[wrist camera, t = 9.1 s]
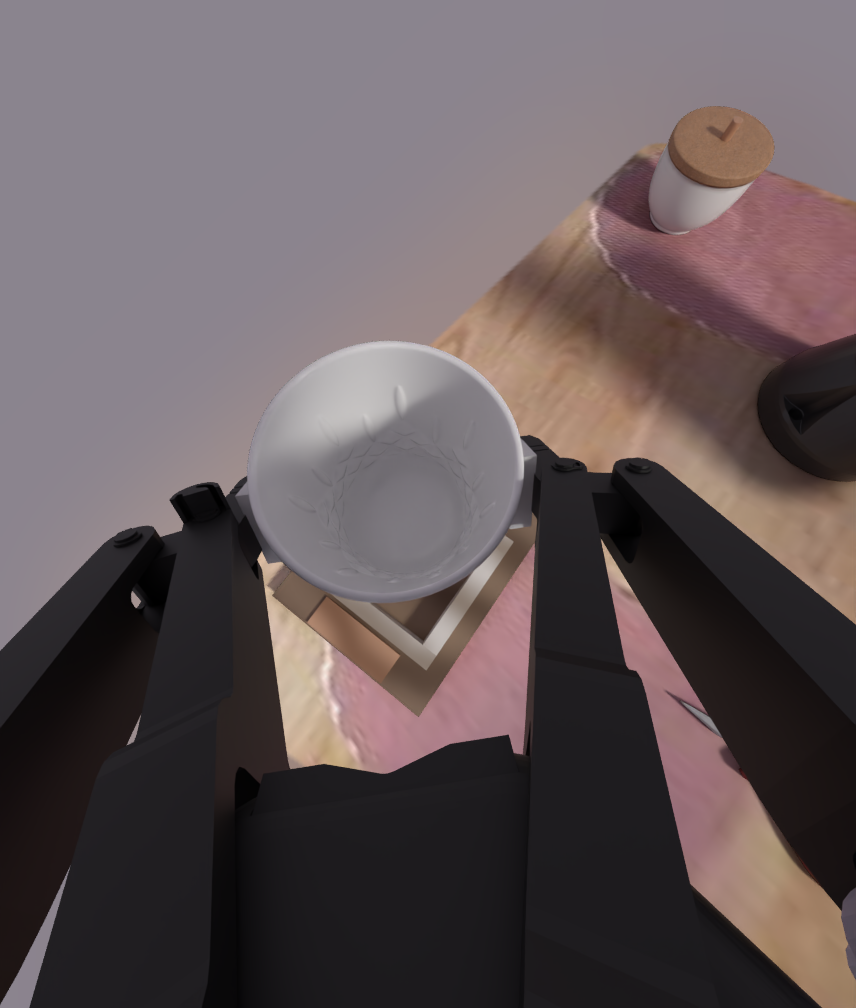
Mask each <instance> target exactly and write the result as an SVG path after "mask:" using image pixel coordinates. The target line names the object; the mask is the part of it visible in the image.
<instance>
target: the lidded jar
mask: <svg viewBox="0 0 856 1008" xmlns="http://www.w3.org/2000/svg"><path fill="white" fill-rule="evenodd" d="M773 154H774V141H773V138H772V136H771V134H770V132H769V130H768V129H767V128H766V127H765V125H763V124H762V123H761V122H760V121H759V120H757V119H756V118H755V117H753V116H751V115H750V114H748V113H746V112H743V111H741V110H738V109H734V108H729V107H720V106H710V107H704V108H700V109H696V110H694V111H692V112H690V113H689V114H687V115H685V116H684V117H683V118H682V119H681V120H680V121H679V122H678V123H677V125H676V127H675V128H674V130H673V132H672V134H671V137H670V139H669V142H668V143H667V145H666V147H665V149H664V151H663V153H662V155H661V157H660V159H659V162H658V164H657V166H656V169H655V171H654V174H653V177H652V180H651V183H650V188H649V197H648V202H649V208H650V219H651V221H652V223H653V224H654V226H655V227H656V228H658V229H659V230H660V231H662V232H664V233H667V234H671V235H682V234H686V233H688V232H690V231H691V230H695V229H698V228H700V227H703V226H705V225H707V224H709V223H710V222H712V221H714V220H715V219H716V218H718V217H719V216H721V215H722V214H723V213H724V212H726V211H727V210H728V209H729V208H730V207H731V206H732V205H733V204H734V203H735V202H736V201H737V200H738V199H739V198H740V197H741V196H742V195H743V194H744V192H745V191H746V190H747V189H748V188H749V187H750V185H751V184H752V183H753V182H754V180H755V179H756V178H758V177H759V176H760V174H761V173H762V172H763V171H764V170H765V169H766V168H767V166H768V165H769V163H770V162H771V160H772V157H773Z"/></svg>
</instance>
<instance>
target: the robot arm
mask: <svg viewBox="0 0 856 1008" xmlns="http://www.w3.org/2000/svg"><path fill="white" fill-rule="evenodd" d="M758 410H759V416H760V420H761V423H762V426H763V428H764V430H765V432H766V434H767V436H768V438H769V439H770V441H771V442H772V443H773V445H774V446H775V447H776V448H777V450H778V451H779V452H780V453H781V454H782V455H783V456H784V457H786V458H787V459H788V460H789V461H790V462H792V463H793V464H795V465H796V466H798V467H799V468H801V469H803V470H805V471H806V472H809V473H811V474H813V475H816V476H818V477H821V478H825V479H829V480H834V481H844V482H850V481H856V334H854V335H851V336H847V337H844V338H841V339H838V340H835V341H832V342H829V343H826V344H824V345H820V346H817V347H813V348H811V349H808V350H806V351H803V352H801V353H799V354H798V355H796V356H794V357H793V358H791V359H789V360H788V361H786V362H784V363H783V364H781V365H779V366H778V367H776V368H775V369H774V370H773V371H772V372H771V373H770V374H769V375H768V376H767V377H766V379H765V380H764V382H763V384H762V387H761V389H760V393H759V398H758ZM520 438H521V443H522V448H523V456H524V480H523V488H522V493H521V498H520V502H519V505H518V508H517V511H516V514H515V516H514V519H513V521H512V523H511V525H510V527H509V528H510V529H515V528H522V527H530V526H531V522H532V513H533V514H534V515H535V517H536V518H537V527H536V537H535V560H534V578H533V596H532V614H531V631H530V649H529V667H528V685H527V703H526V720H525V735H524V748H523V755H522V754H516V753H513V749H512V745H511V742H510V738H509V735H504V736H498V737H492V738H485V739H479V740H473V741H466V742H460V743H454V744H449V745H447V746H445V747H443V748H441V749H439V750H437V751H435V752H433V753H430V754H428V755H426V756H424V757H422V758H420V759H418V760H416V761H414V762H412V763H410V764H408V765H406V766H404V767H402V768H400V769H398V770H396V771H394V772H391V773H388V774H379V773H374V772H368V771H362V770H356V769H350V768H344V767H339V766H333V765H327V764H321V765H315V766H309V767H302V768H296V769H290V768H289V763H288V758H287V751H286V744H285V736H284V729H283V722H282V714H281V707H280V699H279V692H278V685H277V677H276V670H275V662H274V655H273V648H272V640H271V633H270V625H269V618H268V611H267V603H266V596H265V588H264V581H263V574H262V569H261V567H260V565H259V563H258V561H257V559H258V557H259V555H260V553H261V551H262V552H263V554H264V556H265V559H266V561H267V563H268V564H269V563H276V562H282V561H281V560H280V559H279V558H278V557H277V556H276V554H275V553H274V552H273V551H272V549H271V548H270V547H269V545H268V544H267V542H266V540H265V539H264V537H263V535H262V533H261V532H260V529H259V527H258V525H257V523H256V520H255V518H254V515H253V512H252V508H251V504H250V500H249V494H248V485H247V476H246V477H244V478H243V479H242V480H240V481H239V482H238V483H237V484H236V486H235V487H234V489H232V490H231V491H230V494H228V495H227V496H226V497H225V496H224V495H223V492H222V490H221V488H220V486H219V485H218V483H214V482H207V483H201V484H197V485H194V486H191V487H188V488H186V489H184V490H181V491H179V492H178V493H176V494H175V495H173V496H172V498H171V499H170V502H171V503H172V505H173V507H174V508H175V510H176V511H177V513H178V515H179V516H180V518H181V520H182V521H183V523H184V524H183V528H182V531H179V532H176V533H173V534H169V535H166V536H163V537H160V536H159V535H158V533H157V532H156V530H155V529H154V527H152V526H141V527H137V528H133V529H132V528H130V529H127V530H125V531H122V532H120V533H118V534H117V535H116V536H114V537H112V538H111V539H109V540H108V541H107V542H106V543H104V544H103V545H102V546H101V547H100V548H99V549H98V550H97V551H96V552H95V553H94V554H93V555H92V556H91V558H89V559H88V561H87V562H86V563H85V564H84V565H83V566H82V567H81V568H80V569H79V570H78V571H77V572H76V573H75V574H74V575H73V576H72V577H71V578H70V579H69V580H68V581H67V582H66V583H65V584H64V585H63V586H62V588H60V590H59V591H58V592H57V593H56V594H55V595H54V596H53V597H52V598H51V599H50V600H49V601H48V602H47V603H46V604H45V605H44V606H43V607H42V608H41V610H39V611H38V612H37V613H36V614H35V615H34V616H33V618H32V619H31V620H30V621H29V622H28V623H27V624H26V625H25V626H24V627H23V628H22V629H21V630H20V631H19V632H18V633H17V634H16V635H15V636H14V637H13V638H12V639H11V640H10V641H9V642H8V643H7V644H6V646H5V647H4V648H3V649H2V650H1V651H0V1004H1V1002H2V1000H3V998H4V997H5V995H6V993H7V991H8V990H9V988H10V986H11V984H12V983H13V981H14V979H15V977H16V976H17V974H18V972H19V970H20V968H21V966H22V964H23V962H24V960H25V958H26V956H27V954H28V952H29V950H30V948H31V946H32V944H33V942H34V940H35V938H36V936H37V934H38V932H39V930H40V928H41V926H42V924H43V922H44V920H45V918H46V916H47V914H48V912H49V910H50V908H51V906H52V904H53V901H54V899H55V897H56V895H57V893H58V891H59V889H60V886H61V884H62V882H63V880H64V878H65V876H66V874H67V871H68V869H69V867H70V870H69V873H68V876H67V880H66V884H65V887H64V890H63V894H62V897H61V901H60V905H59V907H58V911H57V915H56V918H55V921H54V925H53V928H52V932H51V935H50V939H49V942H48V946H47V949H46V952H45V956H44V959H43V963H42V966H41V970H40V973H39V976H38V980H37V983H36V987H35V990H34V994H33V997H32V1001H31V1004H30V1008H822V1007H821V1006H819V1005H818V1004H817V1003H816V1002H815V1001H814V1000H813V999H812V998H811V997H810V996H809V995H808V994H807V993H806V992H805V991H804V990H802V989H801V988H800V987H799V986H798V985H797V984H796V983H795V982H794V981H793V980H792V979H791V978H790V977H789V976H788V975H786V974H785V973H784V972H783V971H782V970H781V969H780V968H779V967H778V966H777V965H776V964H775V963H774V962H773V961H772V960H771V959H769V958H768V957H767V956H766V955H765V954H764V953H763V952H762V951H761V950H760V949H759V948H758V947H757V946H756V945H755V944H754V943H752V942H751V941H750V940H749V939H748V938H747V937H746V936H745V935H744V934H743V933H742V932H741V931H740V930H739V929H738V928H736V927H735V926H734V925H733V924H732V923H731V922H730V921H729V920H728V919H727V918H726V917H725V916H724V915H723V914H722V913H721V912H719V911H718V910H717V909H716V908H715V907H714V906H713V905H712V904H711V903H710V902H709V901H708V900H707V899H706V898H705V897H704V896H702V895H701V894H700V893H699V892H698V891H697V890H696V889H695V888H694V887H693V886H692V885H691V884H690V881H689V877H688V873H687V868H686V864H685V860H684V856H683V851H682V847H681V843H680V838H679V834H678V830H677V825H676V821H675V817H674V813H673V808H672V804H671V800H670V795H669V791H668V787H667V782H666V778H665V774H664V770H663V765H662V761H661V757H660V752H659V748H658V744H657V740H656V735H655V731H654V727H653V722H652V718H651V714H650V709H649V705H648V701H647V697H646V692H645V689H644V686H643V683H642V680H641V678H640V676H639V675H638V673H637V672H636V671H633V670H629V669H628V668H627V666H626V663H625V659H624V655H623V650H622V645H621V639H620V634H619V629H618V624H617V619H616V614H615V609H614V604H613V599H612V594H611V589H610V584H609V579H608V574H607V568H606V563H605V558H604V553H603V548H602V543H601V539H602V541H603V543H604V544H605V546H606V547H607V549H608V551H609V552H610V554H611V556H612V557H613V559H614V561H615V562H616V564H617V565H618V567H619V569H620V570H621V572H622V574H623V575H624V577H625V579H626V580H627V582H628V584H629V585H630V587H631V588H632V590H633V592H634V593H635V595H636V597H637V598H638V600H639V602H640V603H641V605H642V606H643V608H644V610H645V611H646V613H647V615H648V616H649V618H650V620H651V621H652V623H653V625H654V626H655V628H656V629H657V631H658V633H659V634H660V636H661V638H662V639H663V641H664V643H665V644H666V646H667V647H668V649H669V651H670V652H671V654H672V656H673V657H674V659H675V661H676V662H677V664H678V666H679V667H680V669H681V670H682V672H683V674H684V675H685V677H686V679H687V680H688V682H689V684H690V685H691V687H692V688H693V690H694V692H695V693H696V695H697V697H698V698H699V700H700V702H701V703H702V705H703V707H704V708H705V710H706V711H707V713H708V715H709V716H710V718H711V720H712V721H713V723H714V725H715V726H716V728H717V729H718V731H719V733H720V734H721V736H722V738H723V739H724V741H725V743H726V744H727V746H728V748H729V749H730V751H731V752H732V754H733V756H734V757H735V759H736V761H737V762H738V764H739V766H740V767H741V769H742V770H743V772H744V774H745V775H746V777H747V779H748V780H749V782H750V784H751V785H752V787H753V789H754V790H755V792H756V793H757V795H758V797H759V798H760V800H761V801H762V803H763V804H764V806H765V807H766V809H767V810H768V812H769V814H770V815H771V817H772V818H773V820H774V821H775V823H776V824H777V826H778V827H779V829H780V830H781V832H782V833H783V835H784V836H785V838H786V839H787V841H788V842H789V843H790V845H791V846H792V847H793V849H794V850H795V851H796V853H797V854H798V856H799V857H800V858H801V860H802V861H803V862H804V864H805V865H806V866H807V868H808V869H809V870H810V872H811V873H812V874H813V876H814V877H815V878H816V880H817V881H818V882H819V884H820V885H821V886H822V888H823V889H824V890H825V892H826V893H827V894H828V895H829V896H830V898H831V899H832V900H833V901H834V902H835V904H836V905H837V906H838V907H839V908H840V910H841V911H842V916H841V918H842V922H843V927H844V931H845V935H846V939H847V941H848V944H849V945H848V946H847V948H846V954H847V960H848V966H849V968H850V970H851V972H852V974H853V975H854V977H855V979H856V625H855V624H854V623H853V622H852V621H851V620H849V619H848V618H847V617H846V616H844V615H843V614H842V613H841V612H840V611H838V610H837V609H836V608H835V607H833V606H832V605H831V604H830V603H829V602H827V601H826V600H825V599H824V598H823V597H821V596H820V595H819V594H818V593H816V592H815V591H814V590H813V589H812V588H810V587H809V586H808V585H807V584H805V583H804V582H803V581H802V580H801V579H799V578H798V577H797V576H796V575H794V574H793V573H792V572H791V571H790V570H788V569H787V568H786V567H785V566H783V565H782V564H781V563H780V562H779V561H777V560H776V559H775V558H774V557H772V556H771V555H770V554H769V553H768V552H766V551H765V550H764V549H763V548H761V547H760V546H759V545H758V544H757V543H755V542H754V541H753V540H752V539H750V538H749V537H748V536H747V535H746V534H744V533H743V532H742V531H741V530H739V529H738V528H737V527H736V526H735V525H733V524H732V523H731V522H730V521H728V520H727V519H726V518H725V517H724V516H722V515H721V514H720V513H719V512H717V511H716V510H715V509H714V508H713V507H711V506H710V505H709V504H708V503H707V502H705V501H704V500H703V499H702V498H700V497H699V496H698V495H697V494H696V493H694V492H693V491H692V490H691V489H689V488H688V487H687V486H686V485H685V484H683V483H682V482H681V481H680V480H678V479H677V478H676V477H675V476H674V475H672V474H671V473H670V472H669V471H667V470H666V469H665V468H664V467H663V466H661V465H659V464H658V463H656V462H653V461H650V460H648V459H644V458H642V459H641V458H627V459H621V460H619V461H616V462H615V464H614V467H613V471H612V473H593V472H587V467H586V466H585V464H584V463H582V462H580V461H578V460H575V459H570V458H559V457H558V456H557V455H556V454H555V453H554V452H553V451H552V450H551V449H550V448H549V447H548V446H546V445H545V444H544V443H543V442H542V441H541V440H540V439H538V438H536V437H533V436H530V435H528V436H520ZM132 591H133V592H134V593H135V594H136V596H137V597H138V598H139V599H140V600H141V603H140V604H139V606H138V607H137V608H135V607H134V605H133V604H132V602H131V592H132ZM140 715H141V718H140V722H139V727H138V731H137V735H136V738H135V740H134V742H133V743H131V744H129V745H127V743H128V741H129V739H130V737H131V734H132V732H133V730H134V728H135V726H136V724H137V722H138V719H139V717H140ZM126 745H127V746H126ZM70 865H71V866H70Z"/></svg>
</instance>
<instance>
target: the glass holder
mask: <svg viewBox="0 0 856 1008" xmlns="http://www.w3.org/2000/svg"><path fill="white" fill-rule="evenodd" d="M536 527H537V518H536V517H535V515H534V514H532V522H531V526H530V527H522V528H515V529H510V528H509V529H508V531H507V533H506V534H505V536H504V538H503V539H502V541H501V542H500V544H499V545H498V546H497V548H496V549H495V550H494V551H493V553H492V554H491V555H490V556H489V557H488V558H487V559H486V560H485V561H484V562H483V563H482V564H481V565H480V566H479V567H478V568H477V569H475V570H474V571H473V572H472V573H470V574H469V575H468V576H466V577H465V578H463V579H462V580H460V581H459V582H457V583H455V584H453V585H452V586H450V587H448V588H446V589H444V590H441V591H439V592H437V593H434V594H432V595H429V596H426V597H422V598H419V599H415V600H410V601H404V602H396V603H367V602H359V601H354V600H349V599H345V598H341V597H338V596H335V595H332V594H330V593H327V592H325V591H323V590H321V589H319V588H317V587H315V586H313V585H311V584H309V583H308V582H306V581H305V580H303V579H302V578H300V577H299V576H298V575H296V574H295V573H294V572H292V571H291V573H290V574H289V575H288V576H287V578H286V579H285V580H284V581H283V583H282V584H281V585H280V586H279V588H278V589H277V590H276V591H275V593H274V594H273V595H272V596H273V597H275V598H276V599H277V600H278V601H279V602H281V603H282V604H283V605H284V606H285V607H287V608H288V609H289V610H290V611H291V612H293V613H294V614H295V615H296V616H297V617H299V618H300V619H301V620H302V621H303V622H305V623H306V624H307V625H308V626H309V627H311V628H312V629H313V630H314V631H316V632H317V633H318V634H319V635H320V636H322V637H323V638H324V639H325V640H326V641H328V642H329V643H330V644H331V645H332V646H334V647H335V648H336V649H337V650H338V651H340V652H341V653H342V654H343V655H344V656H346V657H347V658H348V659H349V660H350V661H352V662H353V663H354V664H355V665H356V666H358V667H359V668H360V669H361V670H362V671H364V672H365V673H366V674H367V675H368V676H370V677H371V678H372V679H373V680H375V681H376V682H377V683H378V684H379V685H381V686H382V687H383V688H384V689H385V690H387V691H388V692H389V693H390V694H391V695H393V696H394V697H395V698H396V699H397V700H399V701H400V702H401V703H402V704H403V705H405V706H406V707H407V708H408V709H409V710H411V711H412V712H413V713H414V714H415V715H417V716H418V717H419V716H420V714H421V713H422V711H423V710H424V708H425V707H426V705H427V704H428V702H429V701H430V699H431V698H432V696H433V694H434V693H435V691H436V690H437V688H438V687H439V685H440V684H441V682H442V681H443V679H444V678H445V676H446V675H447V673H448V672H449V670H450V669H451V667H452V666H453V664H454V663H455V661H456V660H457V658H458V657H459V655H460V654H461V652H462V651H463V649H464V648H465V646H466V645H467V643H468V642H469V640H470V639H471V637H472V636H473V634H474V633H475V631H476V630H477V628H478V627H479V625H480V624H481V622H482V621H483V619H484V618H485V616H486V615H487V613H488V612H489V610H490V609H491V607H492V606H493V604H494V603H495V601H496V600H497V598H498V597H499V595H500V594H501V592H502V591H503V589H504V588H505V586H506V585H507V583H508V582H509V580H510V579H511V577H512V576H513V574H514V573H515V571H516V570H517V568H518V567H519V565H520V564H521V562H522V561H523V559H524V558H525V556H526V555H527V553H528V552H529V550H530V549H531V547H532V546H533V544H534V543H535V537H536Z"/></svg>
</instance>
